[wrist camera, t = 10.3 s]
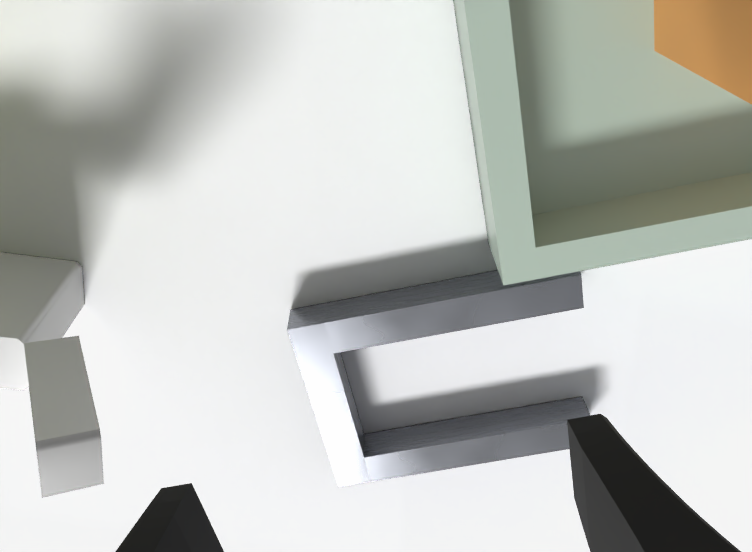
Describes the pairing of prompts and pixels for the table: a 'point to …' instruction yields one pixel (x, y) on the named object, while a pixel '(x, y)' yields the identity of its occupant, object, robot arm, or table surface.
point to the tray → (596, 138)
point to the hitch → (415, 320)
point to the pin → (708, 40)
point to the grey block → (50, 367)
